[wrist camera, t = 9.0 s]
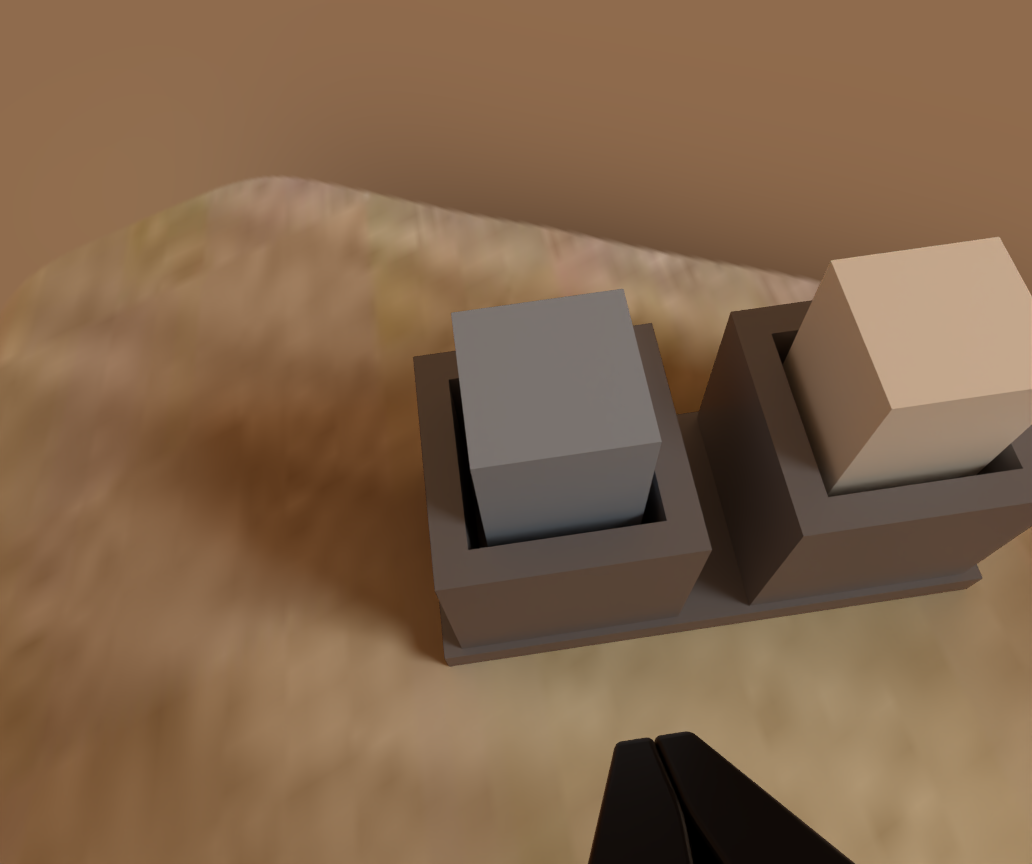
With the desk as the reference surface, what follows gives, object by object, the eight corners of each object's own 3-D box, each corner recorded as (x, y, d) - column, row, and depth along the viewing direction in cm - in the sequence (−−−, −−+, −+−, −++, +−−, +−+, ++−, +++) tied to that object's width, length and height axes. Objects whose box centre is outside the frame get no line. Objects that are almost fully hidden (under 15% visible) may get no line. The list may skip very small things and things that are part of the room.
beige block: (927, 518, 21) (1078, 382, 15) (794, 538, 21) (891, 409, 15) (880, 402, 23) (999, 236, 17) (757, 420, 23) (830, 260, 17)
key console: (966, 588, 23) (1102, 501, 17) (449, 666, 23) (412, 603, 17) (887, 398, 26) (981, 269, 20) (429, 464, 26) (392, 352, 20)
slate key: (631, 562, 21) (661, 441, 15) (496, 582, 21) (470, 469, 15) (605, 441, 23) (623, 288, 17) (480, 459, 23) (451, 312, 17)
